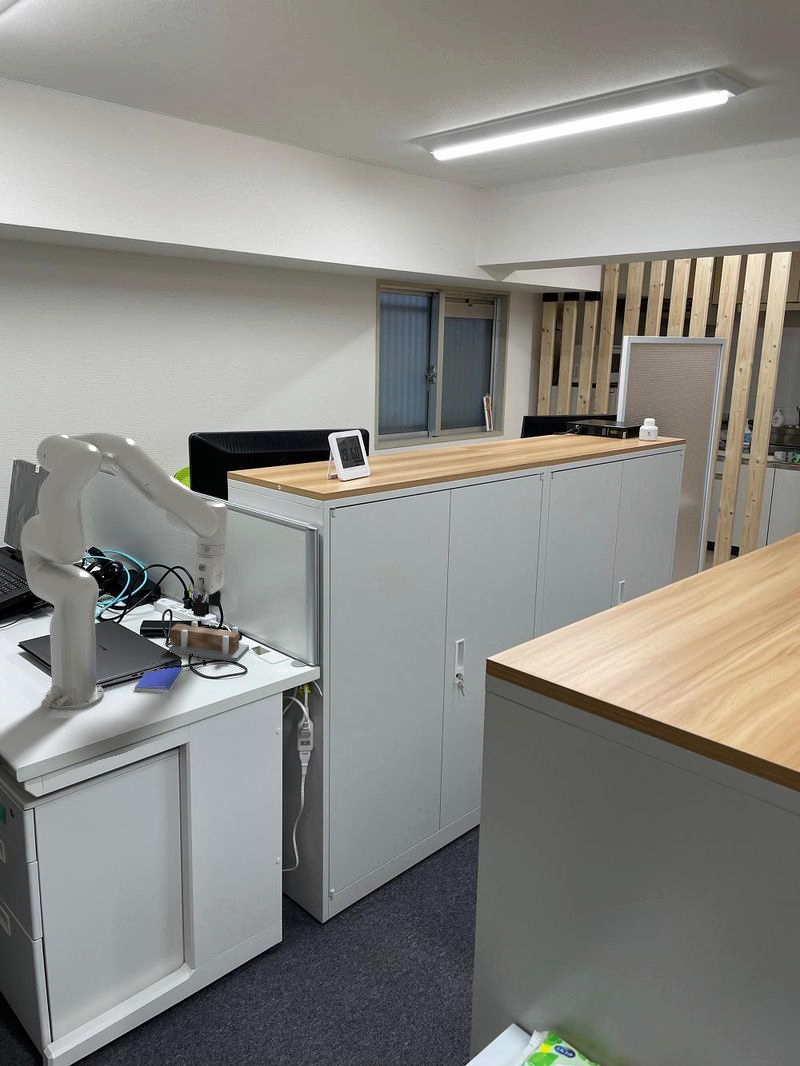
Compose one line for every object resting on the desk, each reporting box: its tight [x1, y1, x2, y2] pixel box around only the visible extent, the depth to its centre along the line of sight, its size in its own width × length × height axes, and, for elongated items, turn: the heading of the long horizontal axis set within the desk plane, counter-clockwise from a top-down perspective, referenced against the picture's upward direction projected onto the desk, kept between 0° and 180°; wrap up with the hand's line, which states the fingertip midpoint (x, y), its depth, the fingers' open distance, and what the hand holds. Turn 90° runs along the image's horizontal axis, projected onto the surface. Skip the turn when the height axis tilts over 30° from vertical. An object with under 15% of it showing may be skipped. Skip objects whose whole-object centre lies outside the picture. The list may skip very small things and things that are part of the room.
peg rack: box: [168, 620, 250, 663], centre depth 214 cm, size 19×9×6 cm, turn 80°
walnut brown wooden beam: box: [169, 623, 240, 653], centre depth 214 cm, size 18×4×4 cm, turn 81°
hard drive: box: [134, 666, 183, 694], centre depth 195 cm, size 2×8×12 cm
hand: (207, 610), depth 211 cm, fingers open, 9 cm apart
